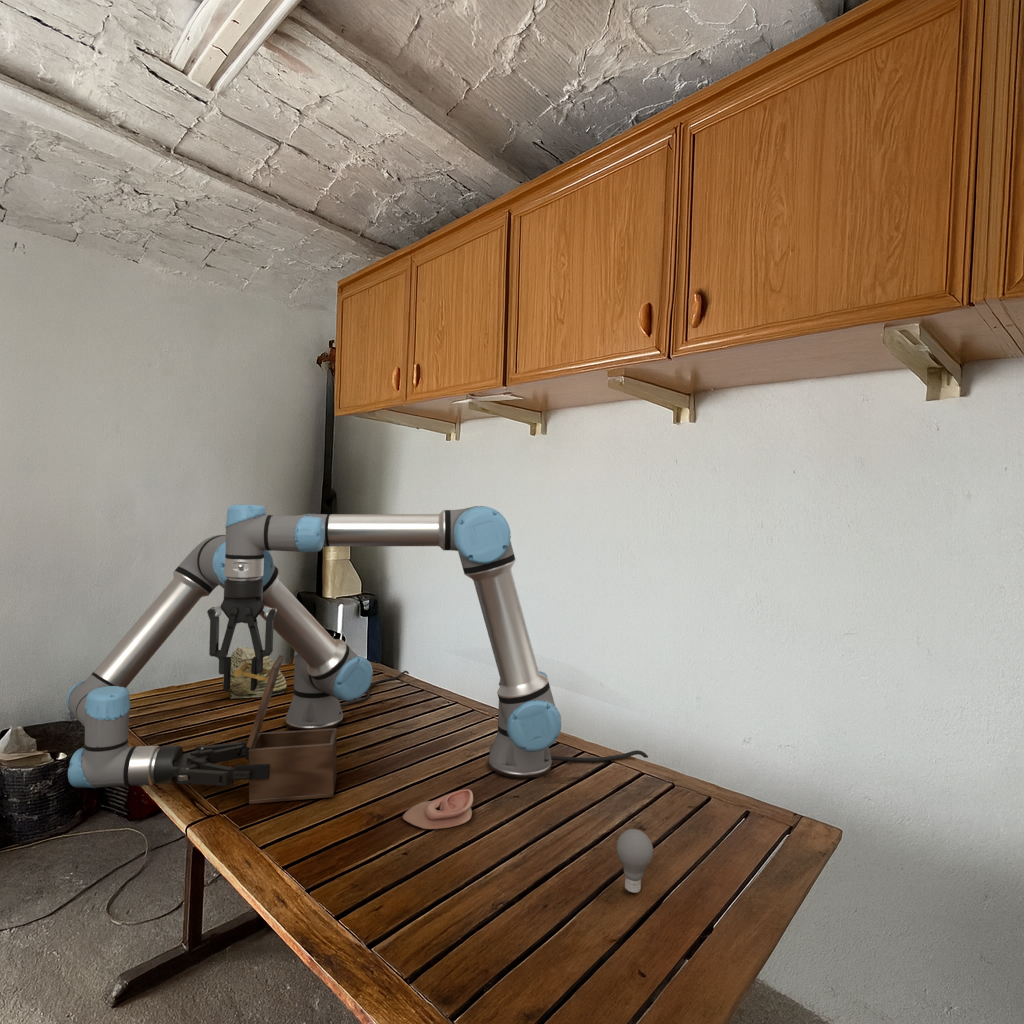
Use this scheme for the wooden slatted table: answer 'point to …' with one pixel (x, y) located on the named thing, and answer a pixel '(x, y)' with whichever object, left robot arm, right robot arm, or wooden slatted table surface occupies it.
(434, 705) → the wooden slatted table surface
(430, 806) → the anatomical model
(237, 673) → the lid
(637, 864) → the light bulb
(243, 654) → the fossil
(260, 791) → the chest
